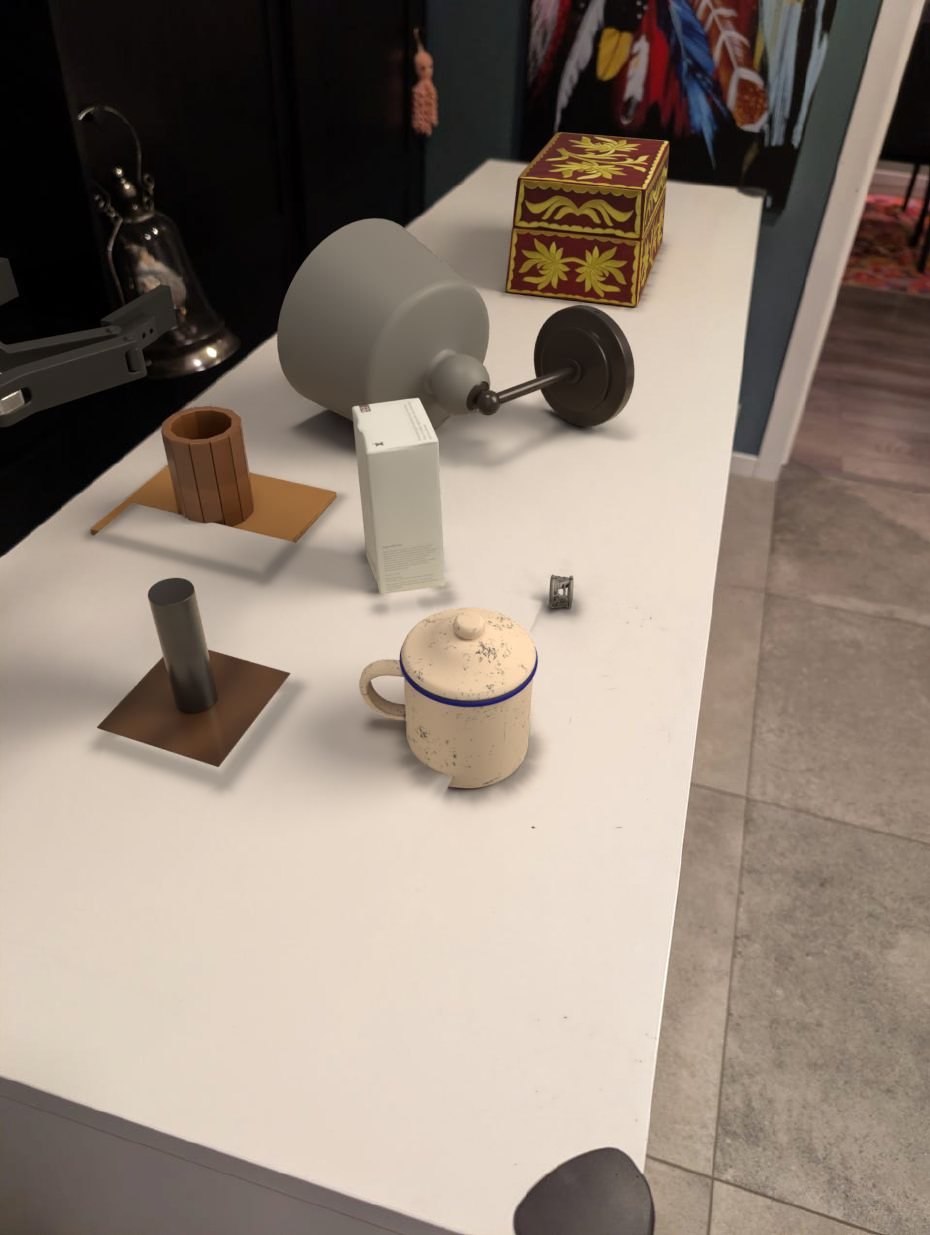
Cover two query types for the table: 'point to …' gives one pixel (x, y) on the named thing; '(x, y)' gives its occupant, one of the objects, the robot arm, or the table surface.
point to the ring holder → (192, 686)
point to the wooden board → (275, 505)
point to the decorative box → (589, 219)
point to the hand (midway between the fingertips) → (87, 290)
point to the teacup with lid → (463, 693)
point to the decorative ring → (563, 583)
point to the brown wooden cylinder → (208, 465)
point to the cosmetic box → (400, 494)
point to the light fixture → (430, 336)
